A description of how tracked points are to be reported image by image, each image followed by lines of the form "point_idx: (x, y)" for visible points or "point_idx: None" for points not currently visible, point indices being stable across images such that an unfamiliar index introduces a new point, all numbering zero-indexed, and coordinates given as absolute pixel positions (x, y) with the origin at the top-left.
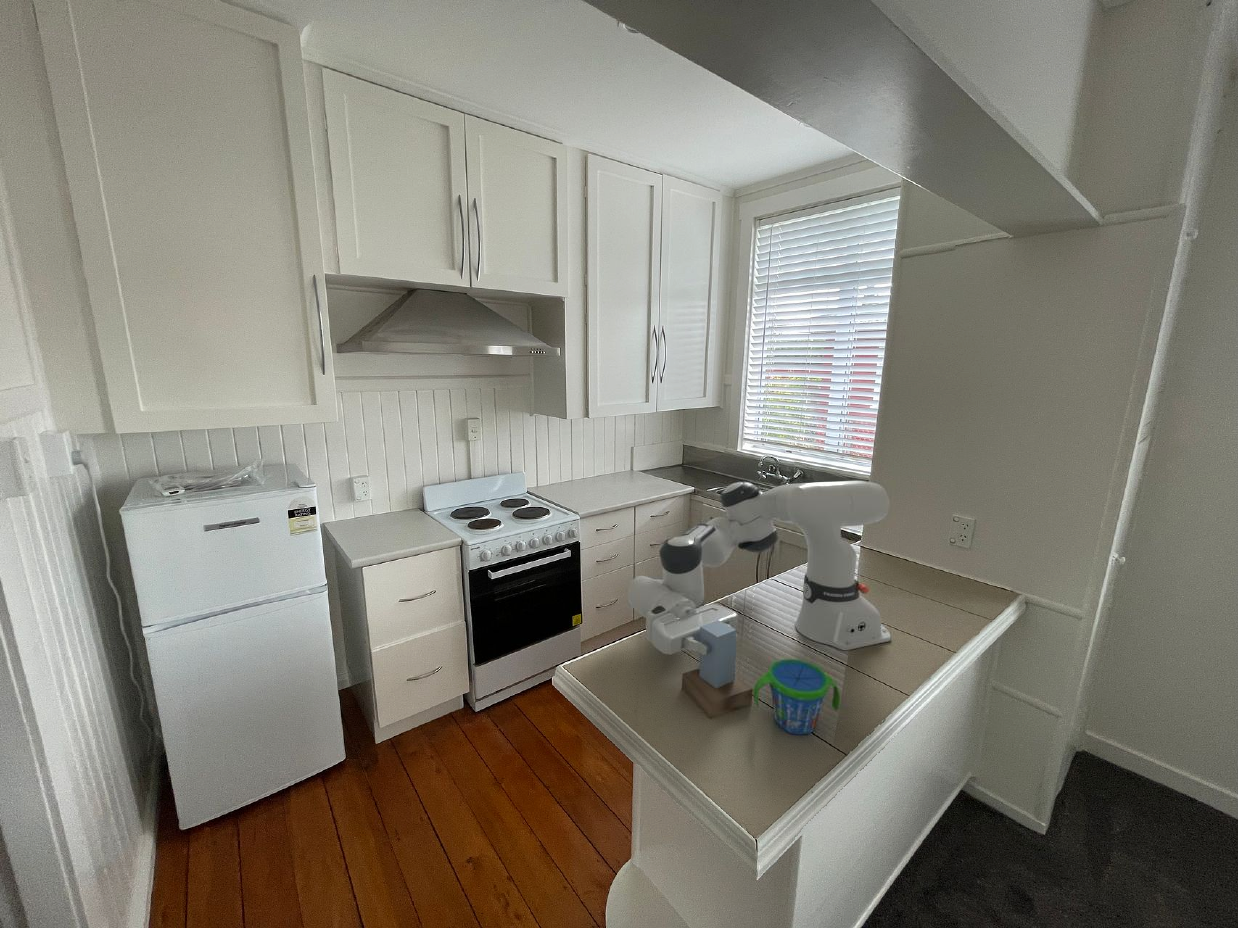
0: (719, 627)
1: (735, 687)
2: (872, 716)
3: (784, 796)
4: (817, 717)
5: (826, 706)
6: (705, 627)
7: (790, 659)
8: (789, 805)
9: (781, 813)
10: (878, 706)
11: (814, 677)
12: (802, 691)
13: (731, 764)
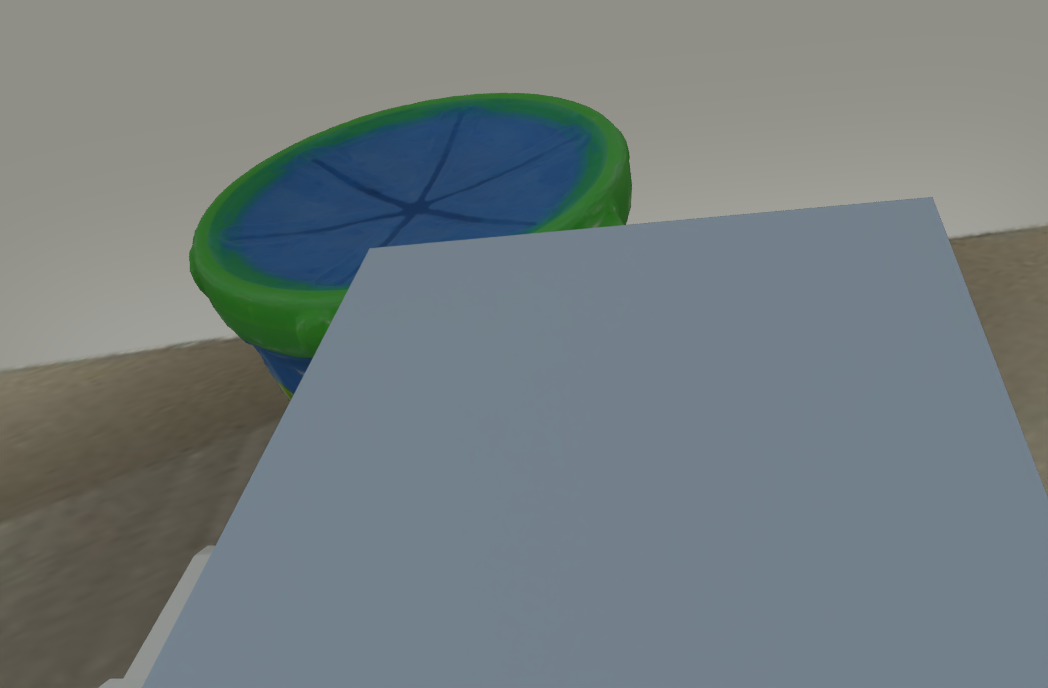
0: (538, 430)
1: None
2: (181, 368)
3: (968, 262)
4: None
5: (225, 482)
6: (955, 620)
7: (229, 279)
8: (979, 238)
9: (1045, 228)
10: (85, 390)
11: (335, 179)
12: (562, 106)
13: None
